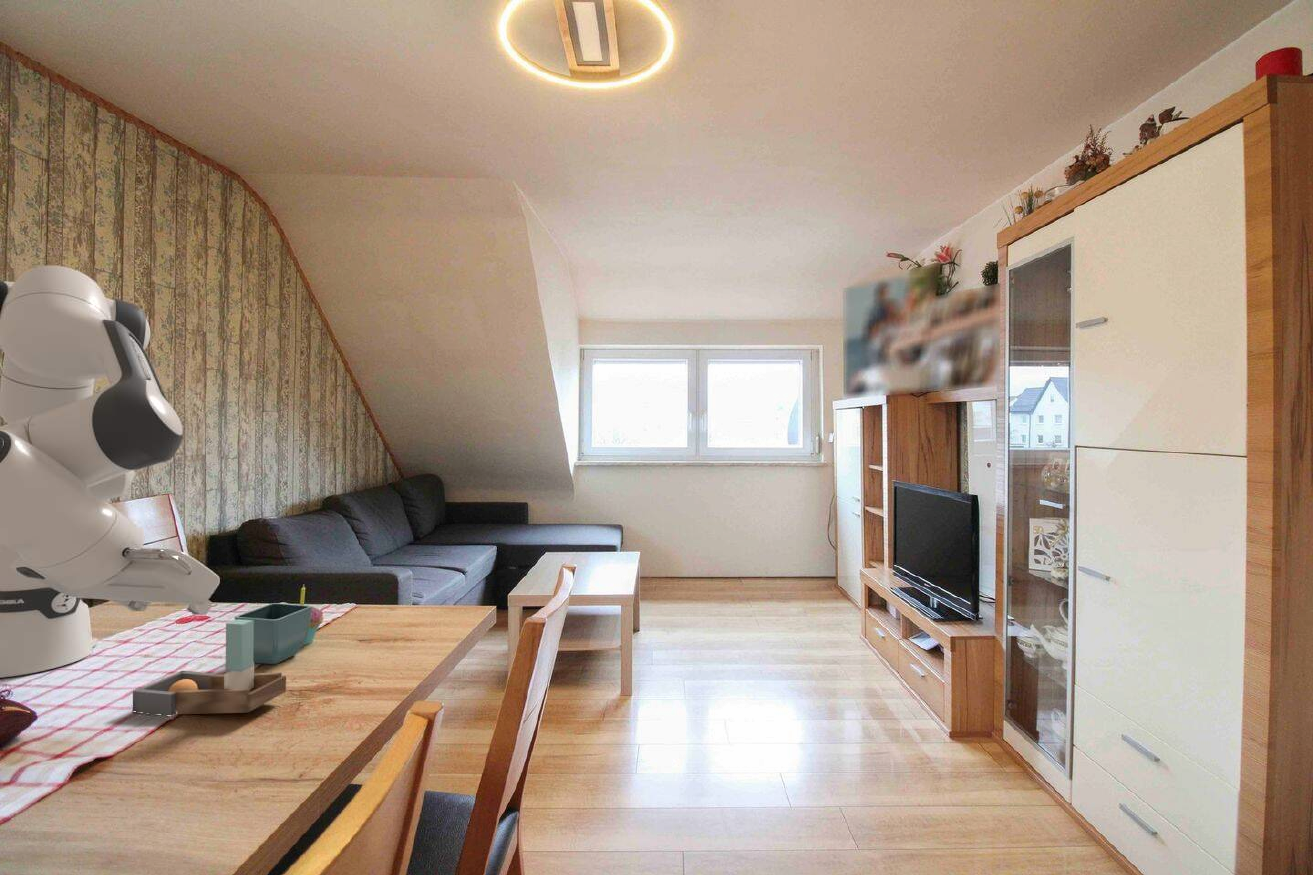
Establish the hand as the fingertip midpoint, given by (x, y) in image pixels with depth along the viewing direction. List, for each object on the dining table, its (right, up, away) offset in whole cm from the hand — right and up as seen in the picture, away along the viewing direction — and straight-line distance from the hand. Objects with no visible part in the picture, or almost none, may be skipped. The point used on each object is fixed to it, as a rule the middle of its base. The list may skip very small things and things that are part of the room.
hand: (173, 608), depth 77 cm
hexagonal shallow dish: (0, -18, +11) cm, 21 cm away
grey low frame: (-10, -18, +12) cm, 24 cm away
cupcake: (-7, -18, +38) cm, 43 cm away
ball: (-9, -16, +12) cm, 22 cm away
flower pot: (-6, -18, +30) cm, 35 cm away
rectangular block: (+1, -16, +10) cm, 19 cm away
